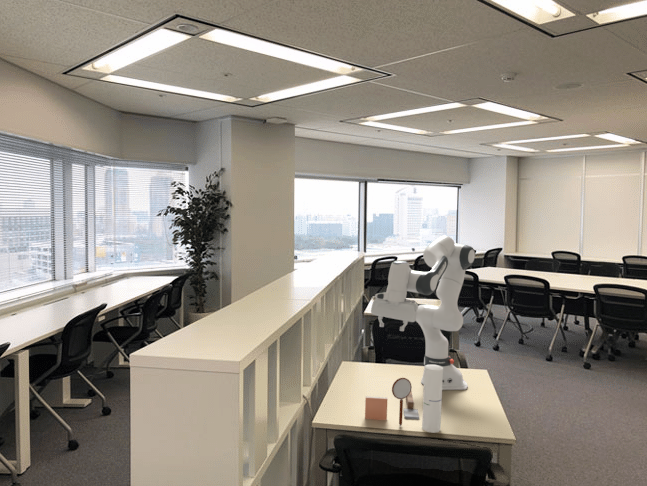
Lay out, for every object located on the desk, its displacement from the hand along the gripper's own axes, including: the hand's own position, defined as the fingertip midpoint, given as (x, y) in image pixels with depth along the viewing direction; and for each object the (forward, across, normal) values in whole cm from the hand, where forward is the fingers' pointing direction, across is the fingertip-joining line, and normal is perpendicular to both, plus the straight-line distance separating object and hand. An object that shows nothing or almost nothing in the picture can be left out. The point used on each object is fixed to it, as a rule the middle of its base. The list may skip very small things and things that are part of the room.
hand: (391, 328), depth 218 cm
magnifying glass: (+37, -13, +11) cm, 40 cm away
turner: (+33, -10, -8) cm, 36 cm away
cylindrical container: (+35, -24, +6) cm, 43 cm away
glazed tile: (+37, -2, +9) cm, 38 cm away
